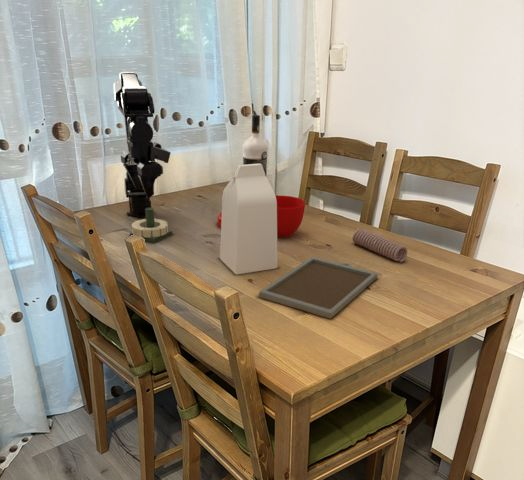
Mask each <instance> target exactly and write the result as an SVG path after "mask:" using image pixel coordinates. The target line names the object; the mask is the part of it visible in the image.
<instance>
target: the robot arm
mask: <svg viewBox="0 0 524 480" xmlns="http://www.w3.org/2000/svg"><path fill="white" fill-rule="evenodd" d="M113 94H114V102H117V108H118V110H119V112H120V113H121V114H122V116H123V118H124V119H123V120H124V126H125V127H124V128H125V135H126V145H127V151H123V152H122V153H121V154H120V162H121V163H122V166H123V167H124V169H125V170H126V173H125V177H124V180H123V181H124V182H123V183H124V194H125V197H126V198H127V199H128V205H129V211H128V212H126V215H127V216H128V215H129V216H133V217H137V218H142V219H143V218H146V213H145V209H146V208H152V201H151V198H152V197H154V195H155V182H156V180H157V179H158V178H159V177H161V176H162V175H163V174H164V167H163V166H162V164H160V163H159V162H157V161H161V162H163V163H165V164H169V161H170V158H171V155H172V154H171V151H169V150H167V149H164V148H162V144H160V143H158V142H153V141H152V140H153V138H154V130H153V127H152V126H151V124H150V123H149V118H154V114H155V112H156V111H155V104H154V98H153V96H152V94H151V92H149V91H148V88H147V87H146V86H143V82H142V81H141V79H139V78H138V73H137V72H135V71H122V72H119V77H118V78H117V79H116V80H115V81H114V82H113ZM156 160H157V161H156Z"/></svg>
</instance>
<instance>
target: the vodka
mask: <svg viewBox="0 0 524 480" xmlns="http://www.w3.org/2000/svg"><path fill="white" fill-rule="evenodd" d="M260 127H261V116H260V115H259V114H252V115H251V136H250V137H249V138H247V139H246V140H245V141H243V144H242V165H247V164H262V166H263V169H264V172H265V176H266V177H267V174H268V173H267V172H268V170H267V169H268V156H269V155H268V153H269V152H268V151H269V144H268V143H267V141H265V140H264V139H263V138H262V137H261V133H260V132H261V130H260V129H261V128H260Z"/></svg>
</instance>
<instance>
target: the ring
mask: <svg viewBox="0 0 524 480" xmlns="http://www.w3.org/2000/svg"><path fill="white" fill-rule="evenodd" d="M154 222H155V227H153V228H147V225H146V218H142V219H137V220H136V221H134V222H132V224H131V232H132V233H133V234H135V235H138V236H141V237H149V238H151V237H159V236H163V235H165V234H166V233H167V232H168V230H169V223H168V222H167V221H166V220H164V219H160V218H154Z"/></svg>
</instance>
